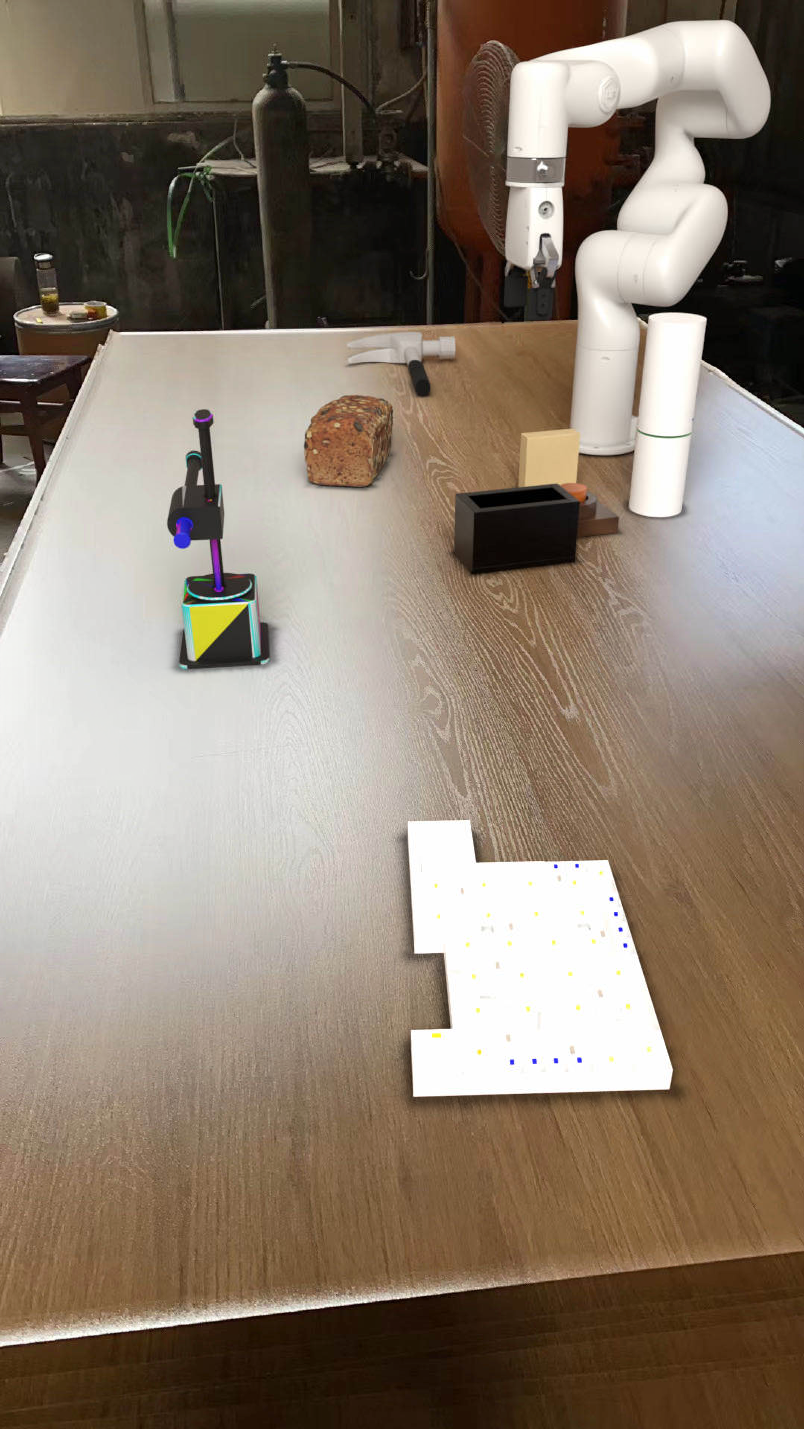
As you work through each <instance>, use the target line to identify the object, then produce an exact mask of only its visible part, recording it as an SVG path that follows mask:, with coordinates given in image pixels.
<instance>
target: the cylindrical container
mask: <svg viewBox="0 0 804 1429" xmlns="http://www.w3.org/2000/svg"><path fill="white" fill-rule="evenodd" d="M707 320H708V319H707V317H705V316H703V315H700V314H694V313H688V312H686V313H685V312H660V313H659V312H658V313H653V314H651V315H649V316H648V320H647V322H648V323H647V330H646V340H645V348H644V349H645V350H644V357H643V366H642V367H643V368H642V377H641V385H640V394H639V396H640V397H639V405H638V416H637V417H638V423H637V432H636V442H635V450H634V454H633V461H632V472H631V482H630V491H629V499H628V500H629V501H628V509H629V510H630V511H631V512H633V513H635V514H637V515H641V516H644V517H645V516H646V517H652V518H669V517H673V516H677V515H679V514H680V513H681V512H682V509H683V501H684V495H685V486H686V478H687V470H688V464H689V457H690V448H691V441H692V433H693V428H694V427H693V426H694V419H695V411H696V404H697V396H698V389H699V388H698V387H699V380H700V373H701V372H700V371H701V365H702V356H703V350H704V342H705V335H706V334H705V333H706V326H707Z"/></svg>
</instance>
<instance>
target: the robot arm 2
mask: <svg viewBox="0 0 804 1429" xmlns="http://www.w3.org/2000/svg"><path fill="white" fill-rule="evenodd" d="M214 423H215V422H214V414H213V412H212V411H211V410H210V409H207V408H202V409H197V410H196V411H195V412H194V413H193V414H192V425H193V426H194V428H195V429H197V430H198V431H197V432H198V439H199V440H198V441H199V450H194V449H193V450H190V451H188V452H187V453H186V455H185V467H186V473H185V474H186V475H185V480H184V485H182V486H179V487H178V488H177V489H175V491H174V492H173V494H172V495H171V499H170V506H169V510H168V515H167V519H166V526H167V531H168V532H169V533H170V535H171V536H172V537H173V544H174V546H175V547H176V548H178V549H181V550H185V549H187V548H189V547H190V546H191V543H192V542H193V541H209V550H210V560H211V569H212V573H208V574H204V575H193V576H187V577H186V578H185V579H184V583H183V590H182V595H181V596H182V597H181V613H182V620H183V631H182V635H181V636H182V637H181V644H180V650H179V651H180V652H179V660H178V665H179V667H180V669H182V670H192V669H207V668H208V669H209V668H210V669H211V668H226V667H227V668H228V667H245V666H260V665H261V666H262V665H266V664H268V663H270V634H269V633H270V630H269V623H267V622H264V621H261V616H260V603H259V592H258V591H259V590H258V589H259V588H258V579H257V578H258V577H257V575H255V573H235V572H234V573H233V572H224V564H223V553H222V552H223V551H222V542H221V540H223V538H224V526H225V506H224V494H223V486H222V484H221V483H217V484H216V480H215V478H216V477H215V468H214V459H213V458H214V457H213V449H212V437H211V427H212V426H213V425H214ZM201 470H202V471H201ZM200 471H201V472H202V481H203V484H198V482H199V481H198V480H199V474H200Z"/></svg>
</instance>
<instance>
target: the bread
mask: <svg viewBox="0 0 804 1429" xmlns="http://www.w3.org/2000/svg"><path fill="white" fill-rule="evenodd" d="M393 414H394V409H393V404H392V403H391V402H390V401H388V400H385V399H384V398H382V397H376V396H372V395H362V394H361V395H360V394H354V395H353V394H350V395H347V394H345V395H342V396H341V397H339V398H338V399H333V400H332V401H329V402H327V403H326V404H325V405H323V406H321V407H320V408H319V409H318V411H317V412H316V414H314V415H313V416H312V417H311V418H310V424H309V425H308V428H307V429H306V430H305V433H304V443H303V448H304V451H303V455H304V457H303V458H304V463H305V464H306V472H307V477H308V478H307V479H308V481H309V482H310V483H314V484H317V485H320V486H323V485H324V486H341V487H353V488H354V487H355V488H364V487H367V486H369V485H372V484H373V482H374V479H375V478H376V477H377V476H378V474H379V473H380V471H381V470H382V468H383V467H384V465H385V463H386V460H387V459H388V456H389V454H390V451H391V448H392V440H393V426H394V416H393Z"/></svg>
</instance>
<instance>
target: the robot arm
mask: <svg viewBox="0 0 804 1429" xmlns="http://www.w3.org/2000/svg"><path fill="white" fill-rule="evenodd" d="M509 83H510V84H509V87H510V88H509V105H508V124H507V125H508V127H507V128H508V129H507V146H506V150H507V151H506V169H505V186H506V187H509V194H508V202H507V204H508V205H507V211H506V222H505V223H506V224H505V239H504V240H505V241H504V254H505V255H504V257H505V258H504V260H505V263H506V264H505V268H504V292H503V293H504V294H503V296H504V297H503V306H504V307H505V308H525V307H527V304H528V308H527V319H528V320H529V321H546V320H549V321H550V320H551V319H552V318H553V308H554V293H555V286H556V278H557V275H558V269H559V268H560V267H561V266H562V261H563V242H564V200H563V187H564V186H565V178H566V165H567V164H566V162H567V148H568V147H567V146H568V135H569V134H568V133H569V131H568V130H569V128H581V129H583V128H585V129H586V128H587V129H588V128H594V127H598V126H602V124H603V125H604V123H606V122H608V121H609V120H610V119H611V118H612V116H613V115H614V114H615V113H616V111H617V110H623V109H628V108H636V107H639V106H641V105H644V104H646V103H648V102H651V101H654V100H656V99H657V102H656V106H655V129H654V130H655V131H654V134H655V135H654V137H655V138H654V144H655V147H654V155H653V159H652V161H651V163H650V165H649V166H648V168H647V169H646V171H645V172H644V173H643V175H642V176H641V178H640V179H639V181H638V182H637V183H636V185H635V186H634V188H633V189H632V191H631V192H630V194H629V195H628V197H627V198H626V200H625V201H624V203H623V204H622V206H621V208H620V210H619V212H618V217H617V223H616V229H609V230H601V231H596V232H594V233H592V234H590V235H588V236H587V237H586V238H585V239H584V240H583V241H582V243H580V246H579V248H578V249H577V253H576V257H575V261H574V264H575V265H574V273H575V274H574V275H575V276H574V277H575V284H576V285H575V286H576V294H577V295H576V296H577V330H576V343H575V356H574V368H573V369H574V370H573V382H572V383H573V384H572V397H571V409H570V422H569V429H574V430H576V431H577V432H579V433H580V443H579V454H583V455H588V456H589V455H590V456H618V455H624V454H629V453H631V452H633V451H635V442H636V432H637V423H638V416H636V415H634V414H633V407H634V397H635V388H636V378H637V368H638V361H639V360H638V357H639V350H640V349H639V348H640V341H641V328H640V322H639V320H638V316H637V313H636V312H635V309H634V307H633V305H632V304H637V305H644V306H652V307H664V308H665V307H666V308H667V307H671V306H674V305H676V304H677V303H679V302H680V301H682V299H683V298H684V297H685V296H686V295H687V294H688V292H689V291H690V290H691V288H692V286H693V285H694V284H695V282H696V281H697V279H698V278H699V276H700V275H701V273H702V271H703V270H704V269H705V267H706V265H707V264H708V263H709V261H710V259H711V258H712V256H713V255H714V253H715V252H716V250H717V249H718V246H719V245H720V243H721V241H722V238H723V236H724V234H725V230H726V228H727V222H728V214H729V213H728V212H729V211H728V210H729V209H728V208H729V207H728V202H727V199H726V197H725V194H724V193H723V192H722V191H721V190H720V189H719V188H718V187H717V186H714V185H711V184H707V183H704V182H705V179H706V170H705V165H704V162H703V159H702V157H701V155H700V152H699V151H698V149H697V148H696V146H695V140H694V139H695V138H707V139H733V140H736V139H737V140H738V139H739V140H741V139H742V140H743V139H747V138H751V137H753V136H755V135H756V134H758V133H759V132H760V131H761V130H762V128H763V127H764V125H765V124H766V122H767V120H768V117H769V113H770V109H771V103H772V102H771V99H772V98H771V89H770V85H769V84H770V83H769V81H768V78H767V76H766V74H765V71H764V69H763V67H762V65H761V62H760V60H759V58H758V55H757V54H756V51H755V49H754V47H753V45H752V43H751V42H750V40H749V38H748V36H747V35H746V33H745V32H744V31H743V30H742V28H741V27H739V25H737V23H735V22H733V21H731V20H727V19H719V20H679V21H672V22H667V23H664V24H663V23H662V24H661V25H658V26H655V27H651V28H649V29H647V30H646V29H645V30H643V31H640V32H637V33H634V34H631V35H630V34H629V35H627V36H624V37H617V38H615V39H608V40H604V41H600V42H596V43H593V44H592V43H591V44H589V45H584V46H579V47H574V48H567V49H563V50H559V51H555V52H552V53H547V54H545V55H542V56H539V57H536V58H533V59H530V60H528V61H521V62H519V63H516V64H515V66H514V67H513V69H512V70H511V73H510V82H509ZM528 271H529V274H530V280H531V285H532V287H529V275H527V272H528ZM528 288H529V291H528Z"/></svg>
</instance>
